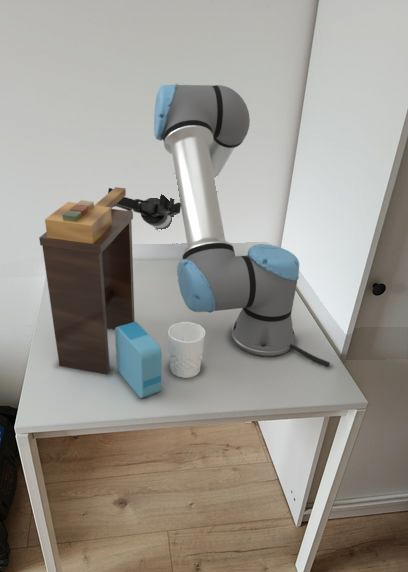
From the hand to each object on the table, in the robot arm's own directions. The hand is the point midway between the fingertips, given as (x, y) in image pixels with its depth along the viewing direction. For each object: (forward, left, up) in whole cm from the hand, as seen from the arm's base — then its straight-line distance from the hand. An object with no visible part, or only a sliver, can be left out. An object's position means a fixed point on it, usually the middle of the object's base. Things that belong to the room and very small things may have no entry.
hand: (135, 196), depth 126 cm
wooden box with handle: (-16, +19, +4) cm, 25 cm away
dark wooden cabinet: (-19, +22, -26) cm, 39 cm away
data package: (-35, +22, -27) cm, 49 cm away
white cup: (-37, +11, -27) cm, 47 cm away
